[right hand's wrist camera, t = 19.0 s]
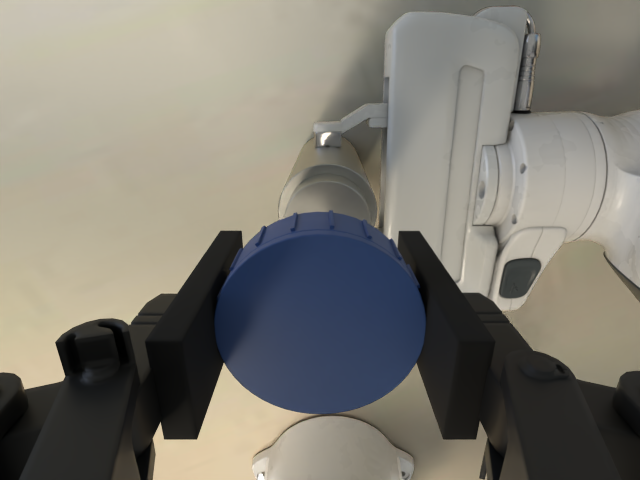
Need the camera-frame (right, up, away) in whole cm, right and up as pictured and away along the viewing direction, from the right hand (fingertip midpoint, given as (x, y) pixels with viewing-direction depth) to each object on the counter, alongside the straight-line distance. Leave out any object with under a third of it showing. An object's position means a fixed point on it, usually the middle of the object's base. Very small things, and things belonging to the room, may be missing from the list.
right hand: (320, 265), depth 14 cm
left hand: (0, +5, +12) cm, 13 cm away
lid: (0, -1, -4) cm, 4 cm away
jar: (+1, +7, +19) cm, 20 cm away
